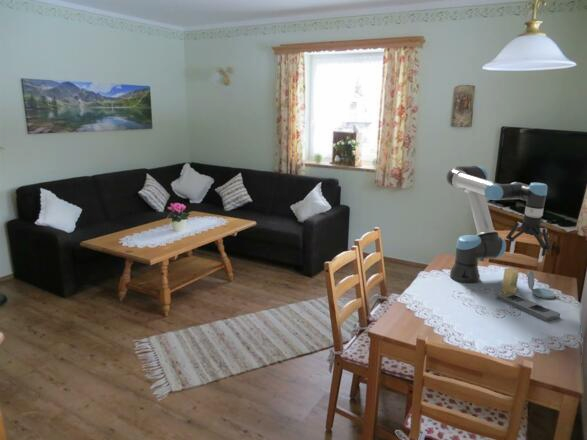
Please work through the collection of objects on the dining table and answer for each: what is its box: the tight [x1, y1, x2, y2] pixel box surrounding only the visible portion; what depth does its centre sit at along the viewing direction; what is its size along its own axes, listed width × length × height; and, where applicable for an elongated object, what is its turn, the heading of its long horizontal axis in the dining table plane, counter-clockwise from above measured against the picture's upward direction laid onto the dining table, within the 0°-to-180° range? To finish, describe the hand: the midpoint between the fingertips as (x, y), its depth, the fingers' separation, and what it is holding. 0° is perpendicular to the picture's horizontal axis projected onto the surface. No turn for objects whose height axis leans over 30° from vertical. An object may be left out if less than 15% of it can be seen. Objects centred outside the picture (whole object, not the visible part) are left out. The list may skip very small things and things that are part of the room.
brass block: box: [501, 267, 519, 294], centre depth 215 cm, size 4×4×12 cm
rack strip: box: [495, 292, 561, 322], centre depth 199 cm, size 26×9×2 cm, turn 26°
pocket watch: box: [527, 270, 560, 300], centre depth 212 cm, size 10×11×15 cm
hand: (525, 257), depth 208 cm, fingers open, 13 cm apart
